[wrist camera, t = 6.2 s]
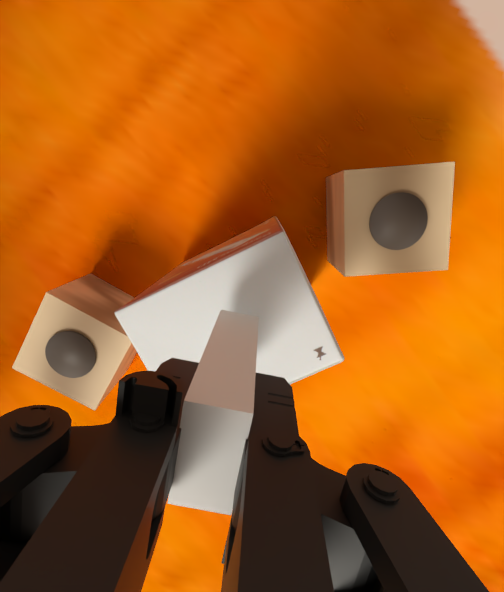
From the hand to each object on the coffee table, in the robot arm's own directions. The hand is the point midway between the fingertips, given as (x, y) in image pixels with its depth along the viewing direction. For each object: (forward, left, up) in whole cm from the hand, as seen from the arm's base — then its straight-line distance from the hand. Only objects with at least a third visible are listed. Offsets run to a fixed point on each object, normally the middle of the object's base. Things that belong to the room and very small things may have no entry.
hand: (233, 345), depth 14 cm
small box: (0, 0, -14) cm, 14 cm away
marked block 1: (-10, -6, -14) cm, 18 cm away
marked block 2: (+8, +6, -14) cm, 17 cm away
